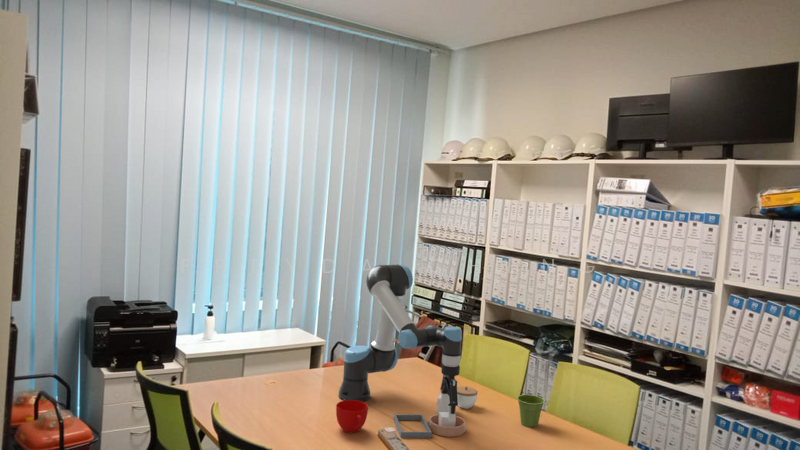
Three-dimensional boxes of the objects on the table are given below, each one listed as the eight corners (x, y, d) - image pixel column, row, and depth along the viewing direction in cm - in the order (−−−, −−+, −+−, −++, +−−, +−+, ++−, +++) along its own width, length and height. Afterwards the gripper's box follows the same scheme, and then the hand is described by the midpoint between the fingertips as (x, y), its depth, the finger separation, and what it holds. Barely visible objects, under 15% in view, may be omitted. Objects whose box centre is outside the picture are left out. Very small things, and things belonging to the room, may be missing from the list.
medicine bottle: (455, 411, 266) (457, 385, 266) (451, 416, 259) (453, 389, 259) (440, 408, 268) (442, 382, 268) (436, 413, 262) (438, 387, 261)
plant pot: (513, 418, 261) (515, 393, 261) (539, 420, 261) (541, 395, 261) (517, 428, 250) (519, 402, 249) (545, 430, 249) (547, 404, 249)
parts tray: (400, 437, 232) (400, 432, 232) (393, 419, 251) (393, 414, 251) (431, 437, 234) (431, 432, 234) (422, 419, 253) (422, 414, 253)
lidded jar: (475, 411, 267) (476, 391, 267) (452, 408, 269) (453, 388, 269) (477, 404, 278) (478, 384, 277) (454, 401, 280) (456, 381, 279)
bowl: (432, 436, 235) (433, 427, 235) (425, 422, 250) (425, 413, 250) (469, 436, 237) (469, 427, 237) (459, 422, 252) (460, 414, 252)
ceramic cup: (343, 441, 225) (345, 416, 225) (330, 425, 240) (332, 401, 240) (374, 438, 230) (376, 413, 230) (360, 422, 246) (361, 398, 245)
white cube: (454, 431, 241) (455, 417, 241) (440, 431, 240) (441, 417, 240) (452, 426, 247) (453, 412, 247) (438, 425, 246) (439, 411, 246)
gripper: (467, 373, 231) (464, 426, 231) (452, 356, 255) (449, 404, 256) (449, 373, 230) (445, 426, 230) (435, 356, 254) (432, 404, 255)
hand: (447, 414), depth 243 cm, fingers open, 13 cm apart
